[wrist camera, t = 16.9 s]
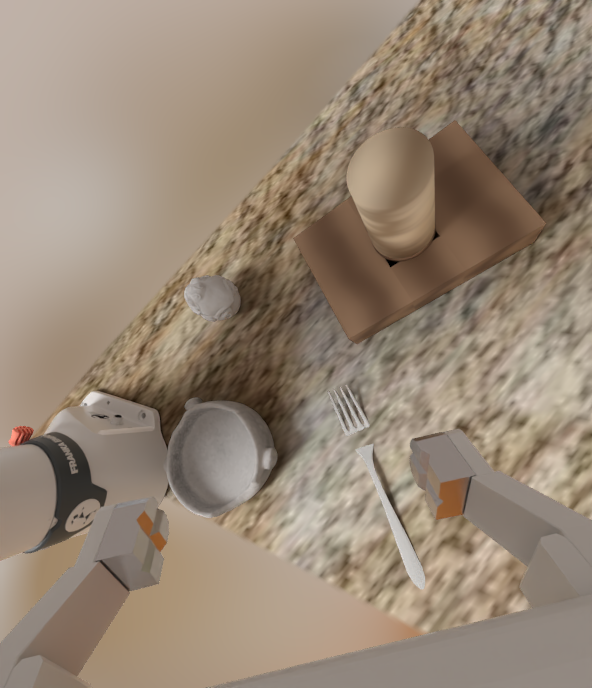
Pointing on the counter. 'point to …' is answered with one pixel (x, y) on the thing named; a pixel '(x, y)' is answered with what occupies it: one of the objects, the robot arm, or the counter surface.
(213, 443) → the dish
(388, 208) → the maple leg
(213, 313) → the frog figurine
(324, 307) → the counter surface
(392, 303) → the walnut board
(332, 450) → the counter surface
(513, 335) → the counter surface
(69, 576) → the robot arm
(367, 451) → the fork
